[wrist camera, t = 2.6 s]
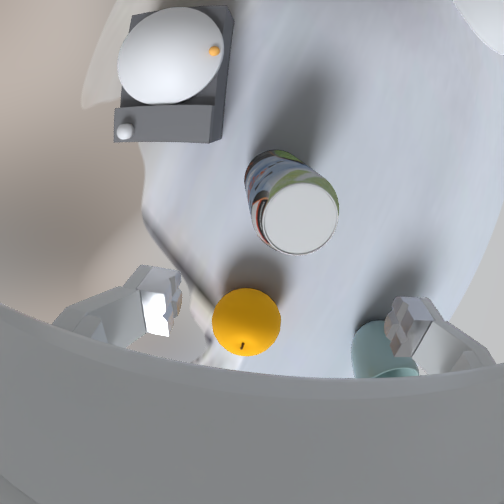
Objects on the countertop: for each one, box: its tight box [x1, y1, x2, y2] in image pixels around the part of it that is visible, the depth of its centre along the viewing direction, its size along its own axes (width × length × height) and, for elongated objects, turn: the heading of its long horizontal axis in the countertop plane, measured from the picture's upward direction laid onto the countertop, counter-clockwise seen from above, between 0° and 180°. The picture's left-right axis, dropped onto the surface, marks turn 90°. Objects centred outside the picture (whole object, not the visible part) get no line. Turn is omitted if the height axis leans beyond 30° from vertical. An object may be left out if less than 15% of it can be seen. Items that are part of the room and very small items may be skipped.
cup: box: [351, 320, 419, 378], centre depth 31 cm, size 8×8×10 cm
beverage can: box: [244, 150, 339, 256], centre depth 22 cm, size 6×7×12 cm
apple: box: [212, 288, 281, 356], centre depth 31 cm, size 8×8×8 cm
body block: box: [114, 6, 234, 143], centre depth 20 cm, size 13×10×6 cm
